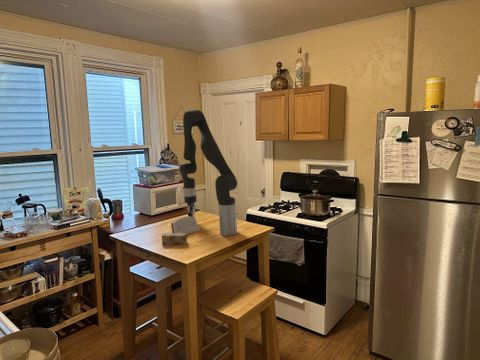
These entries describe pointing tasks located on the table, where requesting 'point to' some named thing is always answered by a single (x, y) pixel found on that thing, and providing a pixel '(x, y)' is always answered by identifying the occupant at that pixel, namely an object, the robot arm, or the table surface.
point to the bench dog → (174, 239)
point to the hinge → (185, 225)
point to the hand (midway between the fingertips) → (192, 221)
